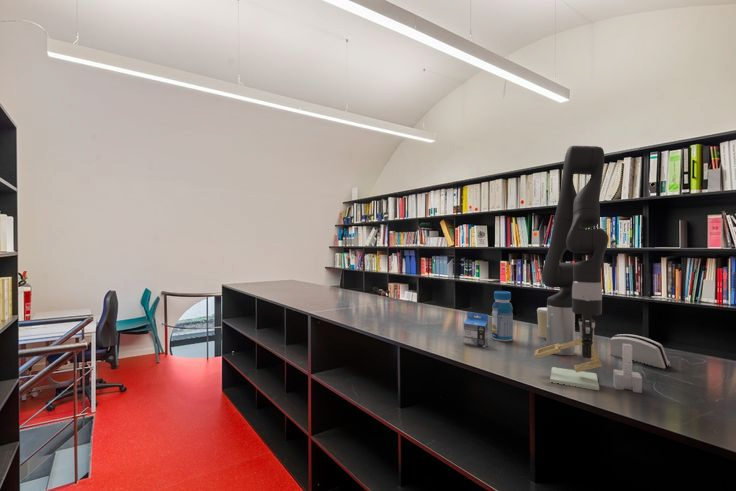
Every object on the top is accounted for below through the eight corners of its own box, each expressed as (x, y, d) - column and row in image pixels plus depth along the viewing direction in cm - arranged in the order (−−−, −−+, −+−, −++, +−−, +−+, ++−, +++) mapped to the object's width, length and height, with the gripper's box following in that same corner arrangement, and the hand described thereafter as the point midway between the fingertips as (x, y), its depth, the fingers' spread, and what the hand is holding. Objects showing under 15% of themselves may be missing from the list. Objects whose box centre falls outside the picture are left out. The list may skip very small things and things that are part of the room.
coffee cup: (565, 338, 158) (565, 310, 158) (547, 340, 155) (548, 311, 155) (549, 333, 167) (549, 306, 167) (532, 334, 164) (532, 307, 164)
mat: (550, 382, 107) (550, 378, 107) (551, 370, 118) (551, 367, 118) (599, 390, 101) (599, 386, 101) (596, 376, 112) (596, 373, 112)
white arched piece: (672, 366, 122) (666, 339, 121) (664, 373, 120) (659, 345, 118) (618, 353, 137) (613, 328, 135) (611, 359, 135) (605, 334, 133)
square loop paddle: (546, 381, 110) (534, 355, 111) (547, 374, 116) (535, 349, 117) (602, 367, 103) (589, 339, 105) (600, 360, 109) (587, 334, 111)
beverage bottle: (506, 343, 150) (507, 293, 150) (487, 339, 156) (488, 291, 156) (516, 339, 156) (516, 292, 156) (497, 335, 162) (498, 290, 162)
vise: (615, 388, 102) (615, 345, 102) (611, 376, 112) (611, 336, 112) (641, 393, 100) (642, 348, 100) (635, 380, 109) (635, 339, 109)
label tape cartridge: (462, 343, 149) (463, 313, 149) (466, 341, 152) (466, 311, 152) (484, 347, 143) (485, 315, 143) (488, 345, 146) (488, 314, 146)
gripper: (571, 293, 116) (571, 349, 116) (572, 299, 104) (572, 361, 104) (599, 295, 112) (599, 352, 112) (604, 301, 100) (604, 365, 100)
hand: (586, 356), depth 108 cm, fingers closed on square loop paddle
